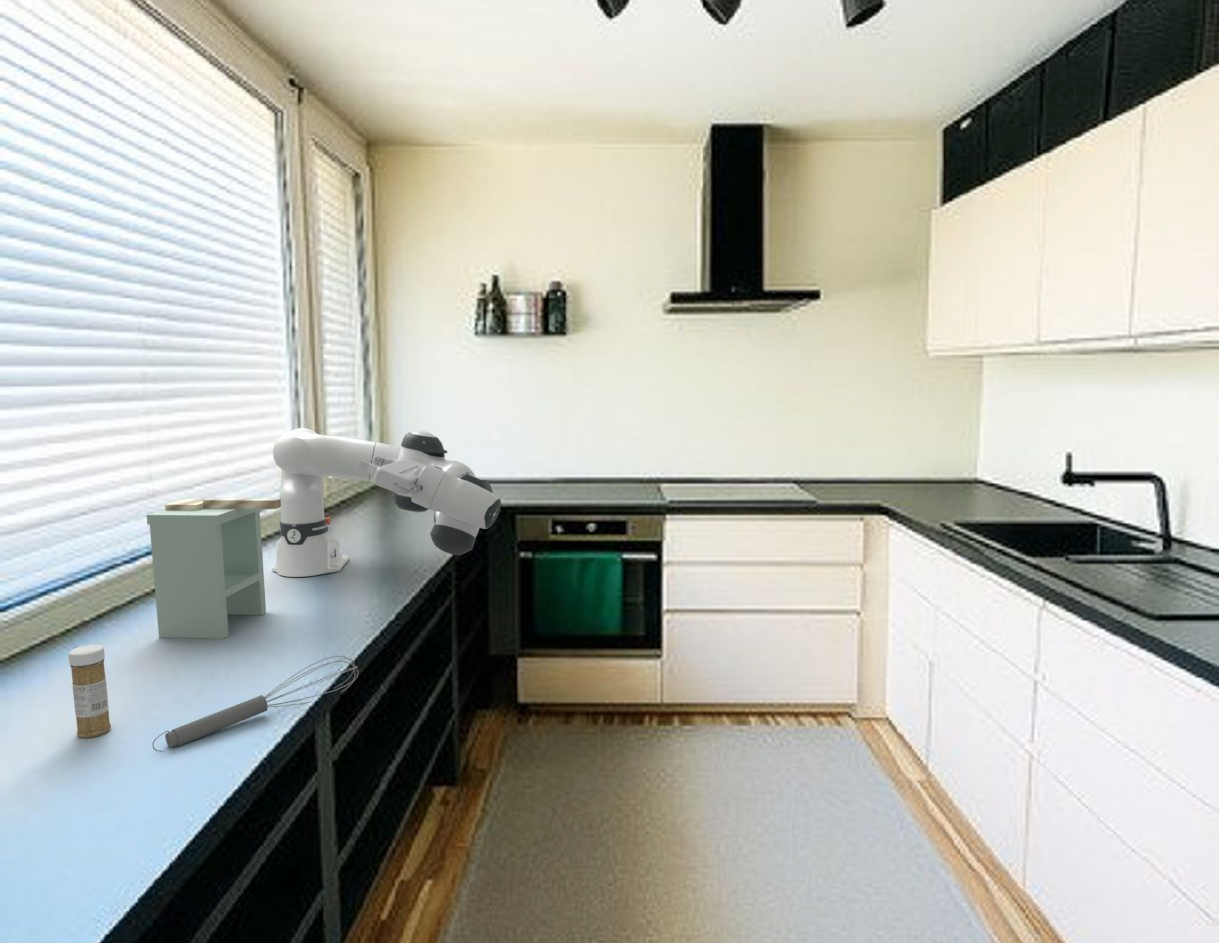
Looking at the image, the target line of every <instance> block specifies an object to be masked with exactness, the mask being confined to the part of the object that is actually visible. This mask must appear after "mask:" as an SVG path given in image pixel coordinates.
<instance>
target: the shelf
mask: <svg viewBox="0 0 1219 943" xmlns="http://www.w3.org/2000/svg"><path fill="white" fill-rule="evenodd" d="M261 510H263V509H208V508H203V509H200V510H165V509H163V510H158V511H155V512H152V513H149V514H146V524H147V525H149V531H150V532H149V533H150V544H151V555H152V556H151V558H152V569H153V571H152V572H153V581H154V593H155V594H154V595H155V605H156V607H155V608H156V617H157V628H158V629H157V632H158V638H169V639H170V638H171V639H173V638H175V639H218V640H219V639H221V640H222V639H226V637H227V638H228V637H229V635H230V634H229V623H228V622H229V621H228V620H229V619H228V616H229V615H232V616H233V615H234V616H235V615H239V616H240V615H242V616H243V615H244V616H252V615H253V616H262V615H264V614H266V613H267V605H266V604H267V603H266V592H265V591H266V589H265V574H264V559H263V544H262V527H261V515H260V514H261V513H260V511H261Z"/></svg>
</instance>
